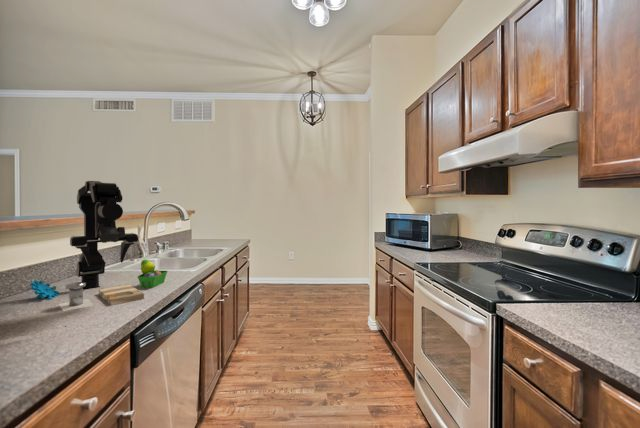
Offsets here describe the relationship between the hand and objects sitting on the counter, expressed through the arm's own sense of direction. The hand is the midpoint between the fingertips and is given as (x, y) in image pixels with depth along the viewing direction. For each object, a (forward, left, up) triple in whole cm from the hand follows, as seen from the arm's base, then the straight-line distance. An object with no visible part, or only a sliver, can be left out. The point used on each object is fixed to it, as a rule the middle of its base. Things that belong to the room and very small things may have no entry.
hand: (106, 264), depth 104 cm
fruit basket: (-18, +20, -15) cm, 31 cm away
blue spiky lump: (-22, -14, -15) cm, 30 cm away
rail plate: (-4, +5, -14) cm, 16 cm away
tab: (-4, -8, -14) cm, 17 cm away
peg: (-4, -8, -13) cm, 16 cm away
